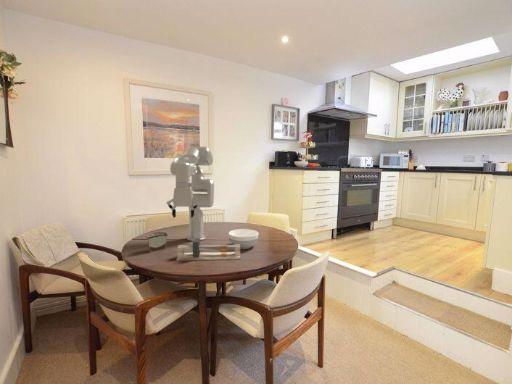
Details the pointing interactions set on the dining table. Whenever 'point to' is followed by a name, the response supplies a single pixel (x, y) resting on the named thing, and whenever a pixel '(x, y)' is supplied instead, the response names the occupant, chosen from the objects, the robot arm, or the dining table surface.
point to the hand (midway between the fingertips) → (183, 217)
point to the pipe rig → (208, 255)
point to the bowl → (243, 237)
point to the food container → (157, 241)
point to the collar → (196, 247)
